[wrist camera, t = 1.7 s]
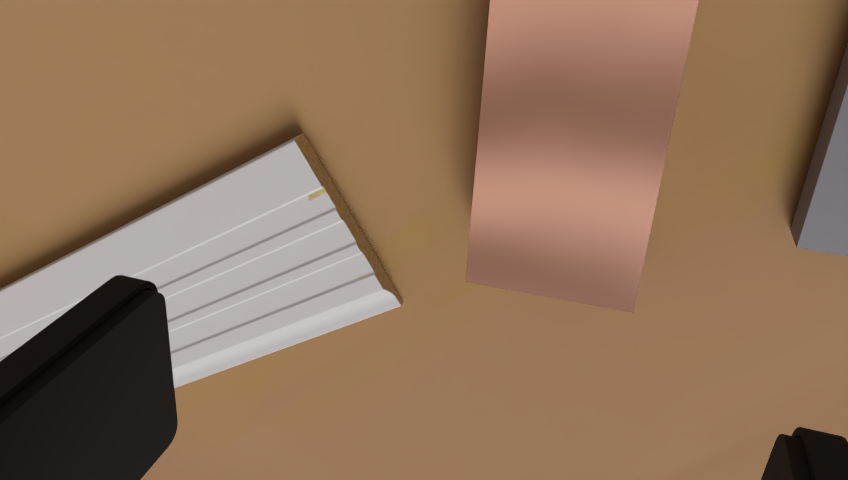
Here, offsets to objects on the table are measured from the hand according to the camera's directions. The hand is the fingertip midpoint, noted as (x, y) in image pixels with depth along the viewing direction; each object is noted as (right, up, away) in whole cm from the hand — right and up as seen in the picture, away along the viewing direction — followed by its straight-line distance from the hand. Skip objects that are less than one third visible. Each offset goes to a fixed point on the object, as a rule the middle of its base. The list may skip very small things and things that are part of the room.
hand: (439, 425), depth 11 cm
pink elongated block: (+6, +9, +16) cm, 19 cm away
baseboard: (-15, -2, +28) cm, 32 cm away
